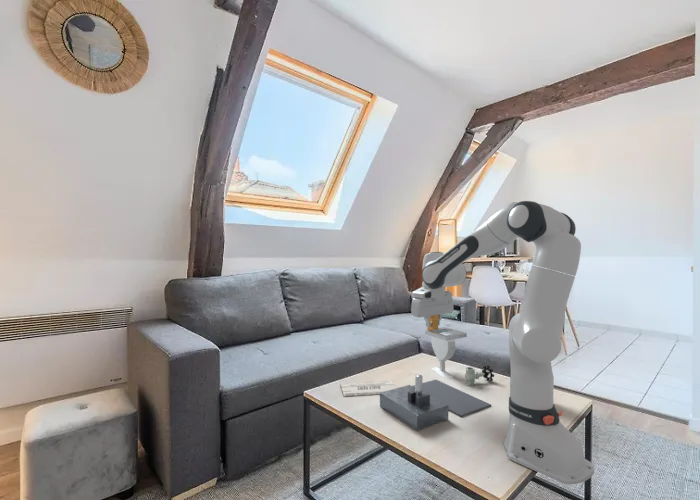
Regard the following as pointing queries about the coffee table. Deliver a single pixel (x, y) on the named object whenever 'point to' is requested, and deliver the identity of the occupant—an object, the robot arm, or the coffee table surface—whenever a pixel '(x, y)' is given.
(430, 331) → the square frame with handle
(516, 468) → the coffee table surface
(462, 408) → the mat
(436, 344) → the heart sculpture
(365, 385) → the newspaper
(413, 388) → the toggle switch
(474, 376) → the valve
